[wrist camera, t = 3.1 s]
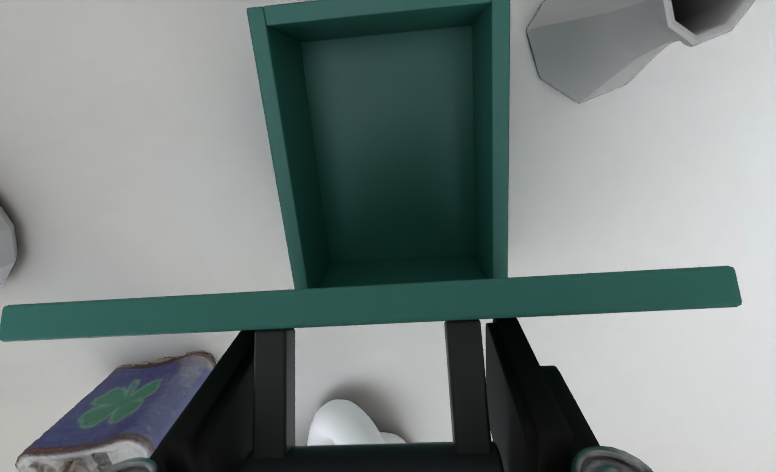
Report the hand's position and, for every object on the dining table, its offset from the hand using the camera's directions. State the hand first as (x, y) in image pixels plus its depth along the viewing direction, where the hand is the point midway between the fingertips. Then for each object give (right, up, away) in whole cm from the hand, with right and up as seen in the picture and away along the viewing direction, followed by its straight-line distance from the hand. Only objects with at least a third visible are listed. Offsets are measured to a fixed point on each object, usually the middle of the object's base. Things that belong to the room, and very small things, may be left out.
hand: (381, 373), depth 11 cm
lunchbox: (+1, +9, +16) cm, 18 cm away
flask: (+12, +15, +13) cm, 24 cm away
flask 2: (-18, -7, +23) cm, 30 cm away
